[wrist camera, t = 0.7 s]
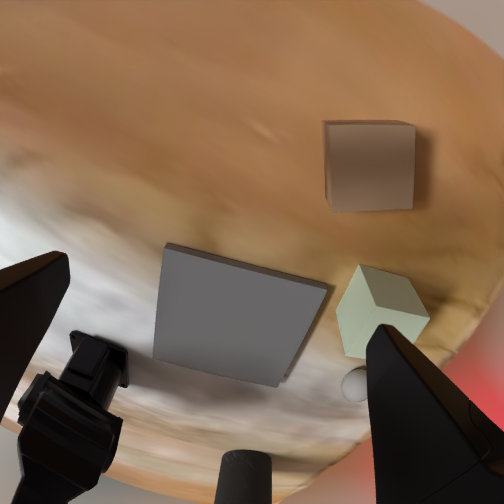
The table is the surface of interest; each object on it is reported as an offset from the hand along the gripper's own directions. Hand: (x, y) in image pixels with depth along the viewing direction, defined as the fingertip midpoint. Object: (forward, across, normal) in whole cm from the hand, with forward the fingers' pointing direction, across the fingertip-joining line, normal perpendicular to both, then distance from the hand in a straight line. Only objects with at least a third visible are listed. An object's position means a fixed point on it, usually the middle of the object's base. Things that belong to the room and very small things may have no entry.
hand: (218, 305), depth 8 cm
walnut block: (+13, -7, -3) cm, 15 cm away
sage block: (+13, -11, +7) cm, 19 cm away
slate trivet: (+13, -1, +12) cm, 18 cm away
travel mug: (+14, -8, +39) cm, 42 cm away
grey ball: (+12, -14, +16) cm, 24 cm away
